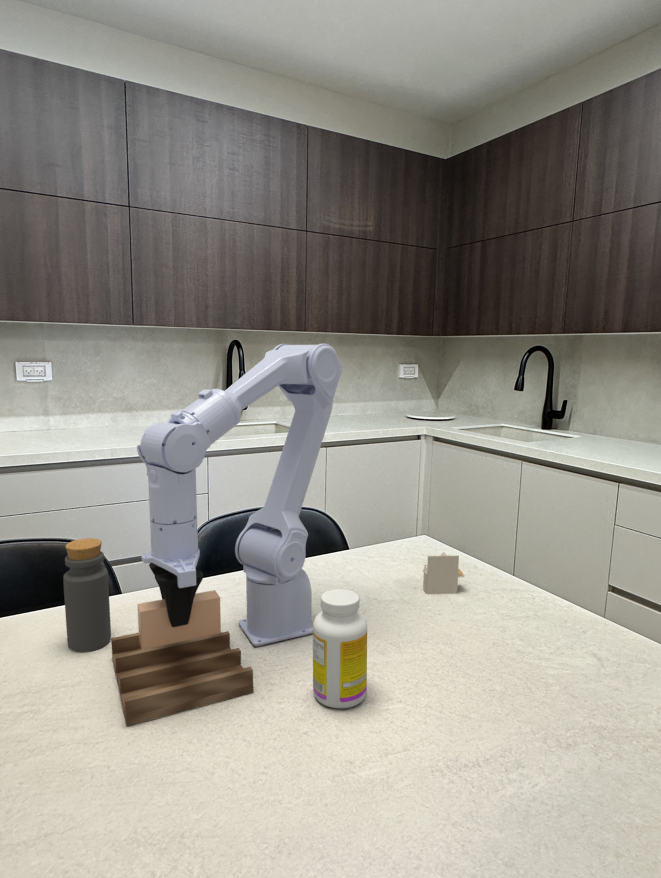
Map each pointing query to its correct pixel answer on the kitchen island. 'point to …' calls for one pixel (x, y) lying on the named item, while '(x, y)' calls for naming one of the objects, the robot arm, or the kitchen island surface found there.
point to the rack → (177, 675)
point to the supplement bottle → (340, 650)
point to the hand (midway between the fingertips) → (177, 619)
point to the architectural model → (441, 574)
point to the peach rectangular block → (160, 631)
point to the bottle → (86, 596)
